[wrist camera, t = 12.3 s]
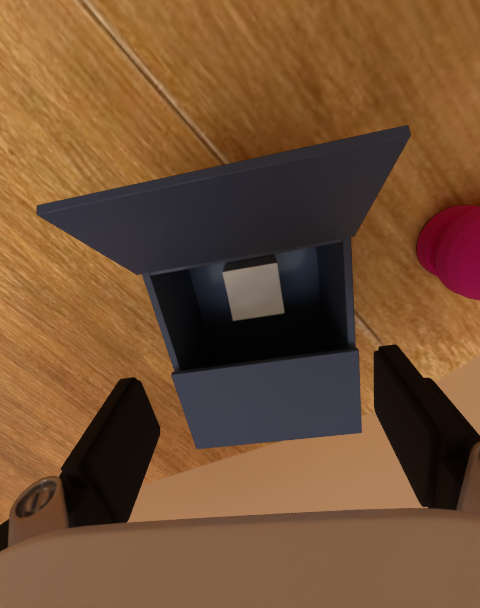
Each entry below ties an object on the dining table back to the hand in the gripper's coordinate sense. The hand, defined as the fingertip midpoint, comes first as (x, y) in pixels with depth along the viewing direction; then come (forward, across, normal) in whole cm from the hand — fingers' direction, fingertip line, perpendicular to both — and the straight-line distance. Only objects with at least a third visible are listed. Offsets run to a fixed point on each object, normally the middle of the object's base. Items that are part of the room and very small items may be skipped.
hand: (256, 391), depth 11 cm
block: (+17, 0, +1) cm, 17 cm away
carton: (+17, 0, +4) cm, 18 cm away
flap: (+4, 0, -6) cm, 7 cm away
